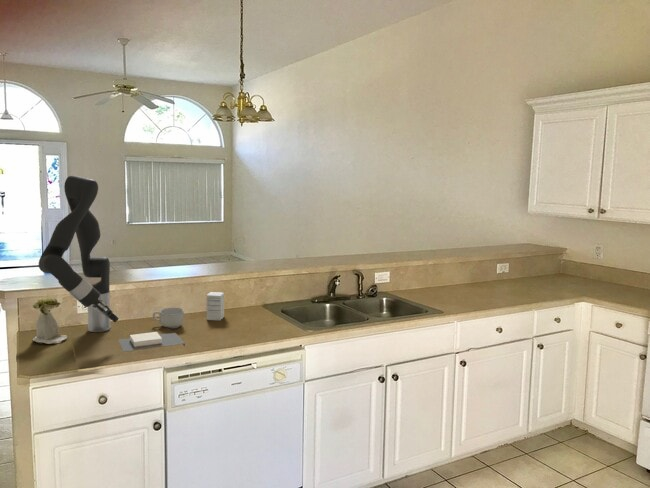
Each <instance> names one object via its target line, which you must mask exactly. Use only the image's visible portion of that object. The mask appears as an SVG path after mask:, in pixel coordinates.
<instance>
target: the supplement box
mask: <svg viewBox="0 0 650 488" xmlns="http://www.w3.org/2000/svg"><path fill="white" fill-rule="evenodd" d="M224 317H225V292H221V291H220V292H219V291H216V292H215V291H211V292H208V293H207V294H206V321H222V320H223V318H224ZM221 319H222V320H221Z"/></svg>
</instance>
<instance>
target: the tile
mask: <svg viewBox="0 0 650 488" xmlns="http://www.w3.org/2000/svg"><path fill="white" fill-rule="evenodd" d="M160 335H161V334H159V332H158V331H153V332H144V333H136V334H130V335H129V338H130V340H131V342H132V344H133V345H134V347H142V346H150V345H157V344H162V338H161V336H160Z"/></svg>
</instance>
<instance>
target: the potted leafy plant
mask: <svg viewBox="0 0 650 488" xmlns="http://www.w3.org/2000/svg"><path fill="white" fill-rule="evenodd" d="M61 303H62V302H61ZM61 303H60V302H58V300H57V299H56V298H53V297H43V298H39V299H38V300H37V301H36V302H35V303H34V304H32V308H34V309H35V310H39V312H40V313H39V315H38V317H37V320H36V324H35V326H36V327H35V330H36V331H35V332H36V336H34V337H33V338H32V339H31V341H32V342H36V343H40V344H43V343H44V344H47V345H50V344H61V343H62V342H63V341H66V339H68V336H67V334H66V335H63V334H62V335H61V334H60V333H59V332H60V330H61V329H60V325H59V322H58V321H57V320H56V318H55V317H54V315H53V314H52V313H51V311H52V309H56V308H59V306H60V305H61Z"/></svg>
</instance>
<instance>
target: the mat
mask: <svg viewBox="0 0 650 488" xmlns="http://www.w3.org/2000/svg"><path fill="white" fill-rule="evenodd" d="M159 335H160V336H161V338H162V344H157V345H150V346H142V347H134V345H133V344H132V342H131V340H130V337H129V338H122V339H118V340H117V341H118V342H119V345H120V346H121V348H122V351H123V353H125V352H130V351H131V352H132V351H138V350H146V349H147V350H148V349H154V348H161V347H167V346H168V347H169V346H175V345H177V346H178V345H183V346H185V342H184V341H183V339H182V338H181V337H180V336H179V335H178V334H177V333H176V332H171V333H170V332H169V333H163V334H159Z"/></svg>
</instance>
